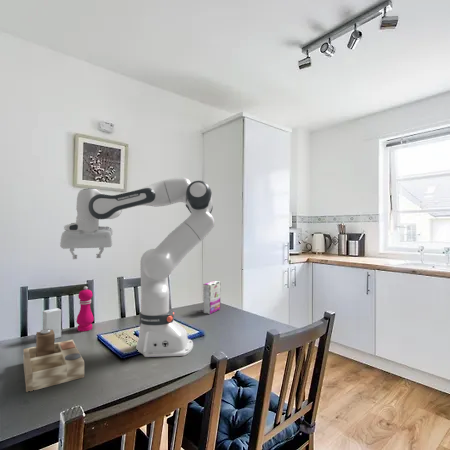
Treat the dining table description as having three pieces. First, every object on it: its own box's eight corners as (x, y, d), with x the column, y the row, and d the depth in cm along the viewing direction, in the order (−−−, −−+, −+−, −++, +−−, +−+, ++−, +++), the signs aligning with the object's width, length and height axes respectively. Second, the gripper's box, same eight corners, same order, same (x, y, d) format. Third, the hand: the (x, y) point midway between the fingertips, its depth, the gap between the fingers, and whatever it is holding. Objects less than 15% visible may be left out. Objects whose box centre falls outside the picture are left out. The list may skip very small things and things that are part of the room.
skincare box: (57, 334, 131) (57, 307, 131) (61, 337, 129) (62, 309, 129) (41, 338, 127) (42, 310, 127) (45, 341, 124) (46, 312, 124)
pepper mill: (86, 332, 135) (87, 288, 135) (72, 331, 136) (73, 287, 136) (96, 327, 142) (97, 285, 142) (83, 325, 143) (83, 284, 143)
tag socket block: (72, 352, 114) (72, 338, 114) (84, 377, 96) (84, 360, 96) (23, 363, 105) (23, 348, 105) (26, 392, 87) (26, 374, 87)
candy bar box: (213, 308, 177) (213, 280, 177) (220, 309, 174) (221, 281, 174) (202, 313, 167) (203, 283, 167) (210, 314, 165) (210, 284, 165)
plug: (52, 357, 107) (52, 326, 107) (54, 362, 103) (54, 331, 103) (36, 361, 104) (36, 329, 104) (37, 366, 100) (37, 333, 100)
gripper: (110, 226, 137) (110, 256, 137) (59, 226, 125) (59, 259, 125) (114, 226, 132) (113, 258, 132) (62, 226, 120) (61, 260, 120)
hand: (86, 258), depth 128 cm, fingers open, 8 cm apart
